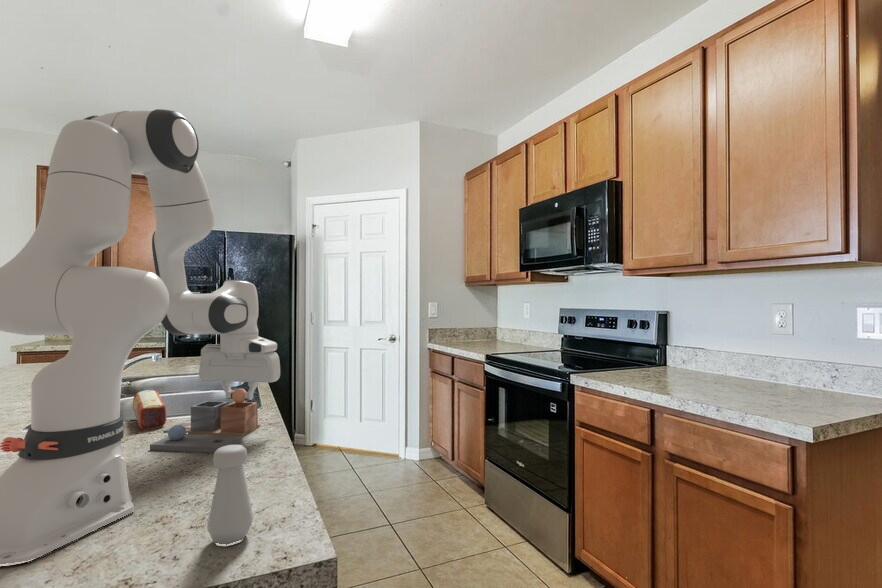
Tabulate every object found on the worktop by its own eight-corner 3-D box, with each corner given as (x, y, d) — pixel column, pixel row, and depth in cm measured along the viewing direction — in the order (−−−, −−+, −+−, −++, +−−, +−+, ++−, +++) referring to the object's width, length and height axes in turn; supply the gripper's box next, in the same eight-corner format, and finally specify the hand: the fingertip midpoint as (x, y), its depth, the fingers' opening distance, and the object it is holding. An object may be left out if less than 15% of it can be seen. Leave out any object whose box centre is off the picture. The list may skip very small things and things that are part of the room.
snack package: (167, 427, 118) (167, 401, 118) (137, 432, 114) (137, 405, 114) (159, 411, 135) (159, 388, 135) (132, 414, 131) (132, 391, 131)
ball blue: (178, 443, 102) (178, 427, 102) (164, 442, 103) (164, 427, 103) (189, 438, 106) (189, 423, 106) (175, 438, 106) (175, 422, 106)
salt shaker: (259, 528, 67) (259, 440, 67) (243, 550, 61) (243, 454, 61) (218, 529, 67) (218, 440, 67) (199, 551, 61) (199, 454, 61)
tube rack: (242, 436, 110) (242, 409, 110) (187, 434, 112) (187, 407, 112) (259, 426, 118) (259, 401, 118) (208, 425, 120) (208, 400, 120)
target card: (185, 432, 113) (185, 431, 113) (163, 431, 114) (163, 430, 114) (203, 424, 120) (203, 423, 120) (182, 424, 121) (182, 422, 121)
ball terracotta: (242, 404, 113) (242, 390, 113) (228, 404, 113) (228, 389, 113) (250, 401, 116) (250, 387, 116) (237, 401, 117) (237, 387, 117)
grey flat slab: (221, 453, 99) (221, 447, 99) (149, 449, 101) (149, 444, 101) (241, 441, 107) (241, 436, 107) (175, 438, 108) (175, 433, 108)
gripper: (193, 345, 113) (193, 400, 113) (271, 346, 110) (271, 403, 110) (209, 342, 119) (208, 395, 119) (283, 343, 117) (283, 397, 117)
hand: (239, 399), depth 115 cm, fingers closed on ball terracotta, 4 cm apart
